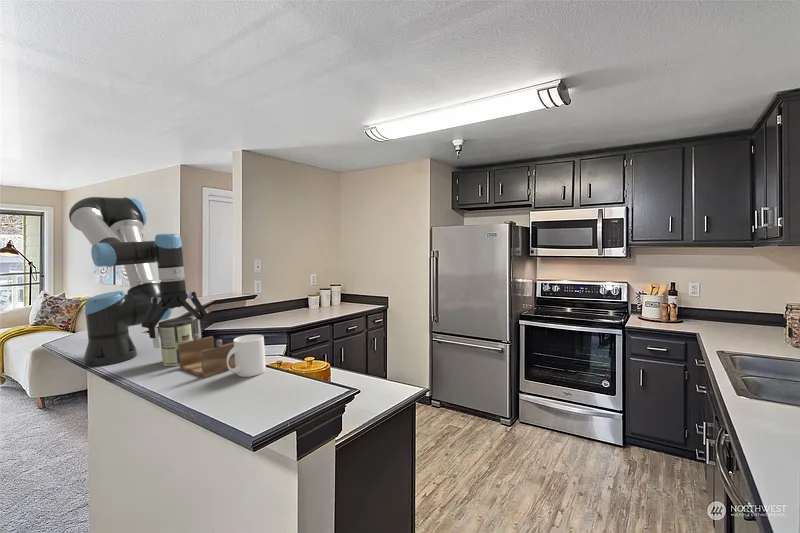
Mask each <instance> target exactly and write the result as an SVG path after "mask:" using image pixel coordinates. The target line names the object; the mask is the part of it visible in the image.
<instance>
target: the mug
mask: <svg viewBox="0 0 800 533" xmlns="http://www.w3.org/2000/svg"><path fill="white" fill-rule="evenodd" d="M233 342H234V347H233V348H232V349H231V350H230V352H229V353H228V356H227V366H228V369H229V370H228V371H230V372H231V373H232V374H236V375H237V376H238V377H242V378H250V377H255V376H259V375H262V374H263V373H264V372H265V371H266V354H265V353H266V352H265V338H264V335H262V334H246V335H242V336H238V337H235V338H234V339H233ZM233 353H234V354H235V368H230V366H229V364H228V361H229V358H230V356H231V355H232V354H233Z"/></svg>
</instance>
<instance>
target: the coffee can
mask: <svg viewBox="0 0 800 533" xmlns="http://www.w3.org/2000/svg"><path fill="white" fill-rule="evenodd" d="M157 325H158V332H159V341H160V348H161V358H162V365H163V366H165V367H176V366H177V367H178V366H180V362H179V351H178V344H181V343H185V342H189V341H193V334H195V328H194V318H193V317H177V318H176V317H175V318H168V319H165V320H161V321H159V322H158V324H157Z"/></svg>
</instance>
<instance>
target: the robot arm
mask: <svg viewBox="0 0 800 533" xmlns="http://www.w3.org/2000/svg"><path fill="white" fill-rule="evenodd" d="M146 214H147V212H146V209H145V207H144V205H143V203H142V202H141V201H140V200H139V199H136V198H133V197H132V198H131V197H128V196H127V197H105V196H104V197H102V196H90V197H85V198H82V199H80V200H78V201H77V202H75V203H74V204H73V205H72V206H71V208H70V210H69V211H68V218H69V221H70V224H71V225H72V227H74V229H75V230H78V231H80V232H81V233H82V234H83V236H84V237H85V238H86V239H87V241H88V242H89V244H91V254H90V255H91V259H92V261H93V264H94V265H95V266H96V267H114V266H115V267H117V266H124V270H125V274H126V276H127V279H128V283H129V286H130V287H129V288H128V289H127V291H126V292H127V294H126V292H125V291H124V290H117V291H110V292H106V293H100V294H98V295H93V296H91V297H89V298H87V299H86V300H85V302H84V315H85V320H86V321H85V322H86V329H87V330H86V331H87V338H88V339H87V340H88V342H87V345H86V348H85V353H84V356H83V361H84V365H85V366H90V367H96V366H98V367H99V366H106V365H112V364H118V363H122V362H125V361H129V360H131V359H133V358H136V356H138V354H137V348H136V345H135V343H134V342H133V339H132V338H131V336H130V331H129V327H132V326H138V325H141V327H142V328H145V329H146V328H147V329H148V334H149V338H150V339H152V343H153V348H155V349H160V348H161V344H160V334H159V327H156V326H157V325H158V323H159V322H161V321H165V320H168V319H170V317H171V314H172V312H173V309H175V308H181V307H183V308H184V309H185V310H187V311H188V312H189V313H190V314H191V315H192V316H193V317H194V318H193V328H194V334H198V335H199V339H201V338H202V328H203V319H204V318H205V317H207V316H208V313H207V310H205V308H204V306H203V305H202V304H201V302H200V300H199V298H198V296H197V293H196V291H189V292H187V291H186V290H187V286H186V280H185V278H186V277H185V276H186V275H185V267H184V266H185V265H184V256H183V242H182V238H181V235H180V234H179V233H160V234H159V233H158V234H156V235H155V237H154V240H147V241H146V240H145V239H144V238H143V235H142V230H143V229H144V226H145V225H146V223H147V216H146ZM144 240H145V241H144ZM152 263H153V264H154V263H157V272H158V280H159V281H157V279H156V276H155V273H154V270H153V266H152ZM187 299H190V300H191V302H192V304H193V305H194V307H195V308H194V307H193V306H191V305H190V303H189V302H188V301H187Z"/></svg>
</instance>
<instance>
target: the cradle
mask: <svg viewBox="0 0 800 533" xmlns="http://www.w3.org/2000/svg"><path fill="white" fill-rule="evenodd" d="M215 345H216V346H215ZM233 347H234V341H233V342H228V343H226V344H225V343H224V344H223V340H222V339H216V340H215V337H214V336H212V335H210V336H206V337H201V338H199V335H198V334H195V333H194V334H193V341H189V342H185V343H181V344H178V351H179V362H180V365H179V369H180V368H181V369H180V370H183V371H186V372H188V373H191V374H194V375H197V376H198V377H201V378H205V379H207V378H209V377H212V376H215V375H218V374H222V373H224V372H228V371H230V370H229V369H228V366H227V356H228V353H229V352H230V350H231V349H232V348H233ZM228 364H229V366H230V368H235V354H234V353H233V354H232V355H231V356H230V358H229V361H228Z"/></svg>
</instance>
